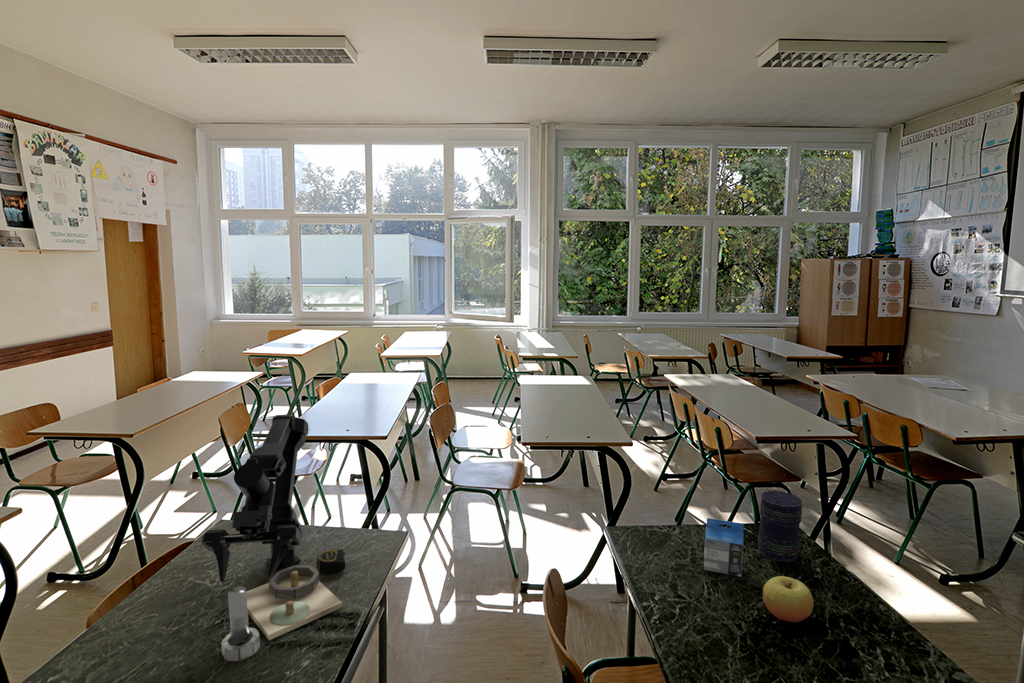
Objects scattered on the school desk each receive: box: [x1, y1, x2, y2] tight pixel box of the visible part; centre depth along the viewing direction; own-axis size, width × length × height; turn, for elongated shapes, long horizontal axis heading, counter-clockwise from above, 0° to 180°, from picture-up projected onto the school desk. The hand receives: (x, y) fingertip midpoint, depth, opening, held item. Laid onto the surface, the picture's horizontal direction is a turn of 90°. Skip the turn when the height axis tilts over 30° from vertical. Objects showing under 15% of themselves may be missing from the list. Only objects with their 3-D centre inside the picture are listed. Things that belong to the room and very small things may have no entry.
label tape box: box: [703, 517, 744, 578], centre depth 139 cm, size 9×4×12 cm, turn 68°
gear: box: [220, 586, 261, 662], centre depth 110 cm, size 6×6×12 cm
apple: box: [762, 575, 815, 623], centre depth 122 cm, size 10×10×8 cm
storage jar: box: [757, 490, 803, 563], centre depth 148 cm, size 10×10×15 cm
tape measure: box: [316, 549, 346, 575], centre depth 140 cm, size 7×7×4 cm
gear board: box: [246, 564, 343, 641], centre depth 126 cm, size 19×16×4 cm
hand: (245, 580), depth 115 cm, fingers open, 9 cm apart
